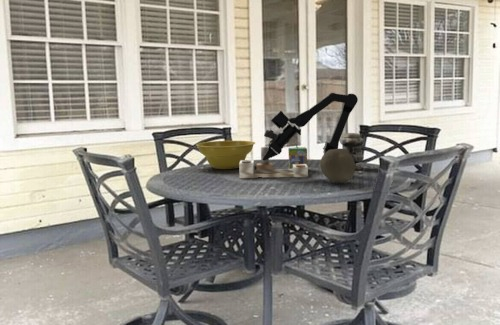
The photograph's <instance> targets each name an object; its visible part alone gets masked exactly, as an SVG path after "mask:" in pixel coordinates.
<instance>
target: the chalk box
mask: <svg viewBox="0 0 500 325" xmlns="http://www.w3.org/2000/svg"><path fill="white" fill-rule="evenodd" d="M294 143H295V146H296V147H288V169H293V164H306V165H307V167H308V168H309V166H308V148H307V147H305V146H304V147H303V146H301V147H300V146H298V144H297V142H296V141H294Z"/></svg>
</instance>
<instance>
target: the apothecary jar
mask: <svg viewBox="0 0 500 325" xmlns="http://www.w3.org/2000/svg"><path fill="white" fill-rule="evenodd" d="M364 143H365V142H364V138H362V135H361V133H357V132H346V133H342V137H341V138H340V140H339V144H341V145H342V148H341V149H344V150H346V151H348V152H349V153H350V154H351V155H352V158H353V160H354V162H355V171H356V170H357V171H358V170H362V166H359V165H357V164H359V163H361V162H362V161H364V159H365V157H364V155H363V153H362V145H363V144H364Z"/></svg>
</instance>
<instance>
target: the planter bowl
mask: <svg viewBox="0 0 500 325" xmlns="http://www.w3.org/2000/svg"><path fill="white" fill-rule="evenodd" d="M254 145H256V142H255V141H251V140H215V141H213V140H212V141H205V142H200V143H196V144H195V146H197V148H198V150H199V152H200V153H201V154H202V155H203V156H204V157H205V159H206V161H207V162H208V164H209V165H210V167H212V168H213V169H215V170H216V169H217V170H232V169H237V168H239V163H240V161H241V160H246V158H247V155H249V153H251V152H252V150H253V148H254Z"/></svg>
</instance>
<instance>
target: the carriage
mask: <svg viewBox="0 0 500 325" xmlns="http://www.w3.org/2000/svg"><path fill="white" fill-rule="evenodd" d="M268 148H269V146H261V147H260V162H257V163H256V164H255V165H256V167H255V168H256V170H274V169H275V168H274V162H269V161H270V158H269V159H267V160H265V161H263V157H264V156H265V155H266V153H267V152H268Z"/></svg>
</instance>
